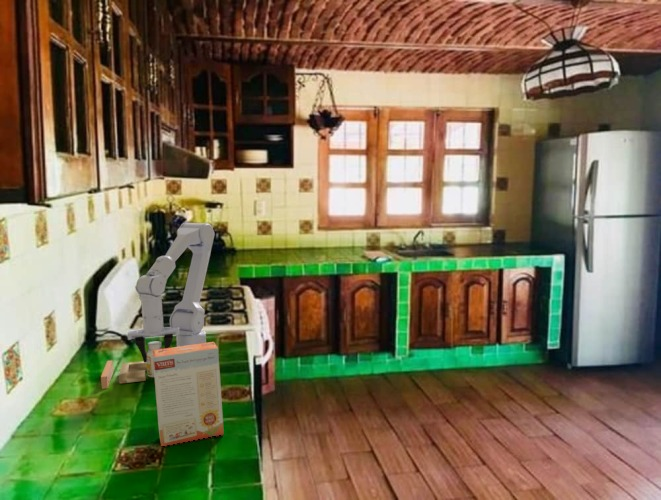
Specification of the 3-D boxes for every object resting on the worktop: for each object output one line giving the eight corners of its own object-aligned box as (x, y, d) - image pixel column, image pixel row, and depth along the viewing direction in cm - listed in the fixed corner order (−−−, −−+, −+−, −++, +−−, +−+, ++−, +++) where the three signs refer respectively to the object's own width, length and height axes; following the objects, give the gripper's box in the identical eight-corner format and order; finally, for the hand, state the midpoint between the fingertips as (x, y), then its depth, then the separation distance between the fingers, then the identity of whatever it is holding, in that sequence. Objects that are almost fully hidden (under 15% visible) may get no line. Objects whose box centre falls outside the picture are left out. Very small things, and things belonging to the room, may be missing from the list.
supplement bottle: (169, 371, 173) (166, 340, 172) (162, 377, 168) (159, 345, 166) (151, 371, 173) (149, 340, 172) (144, 377, 168) (142, 345, 167)
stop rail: (113, 371, 174) (112, 360, 174) (107, 388, 161) (106, 376, 160) (108, 371, 174) (107, 360, 173) (101, 388, 160) (100, 377, 160)
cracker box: (219, 425, 136) (214, 340, 133) (224, 436, 130) (219, 347, 127) (158, 436, 131) (151, 348, 128) (160, 448, 125) (153, 356, 122)
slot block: (147, 369, 175) (146, 360, 174) (145, 380, 165) (144, 372, 165) (123, 371, 173) (122, 363, 173) (119, 383, 163) (118, 374, 163)
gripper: (125, 321, 162) (128, 367, 164) (177, 316, 166) (180, 361, 168) (127, 315, 169) (131, 359, 171) (178, 311, 173) (181, 354, 175)
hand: (155, 360), depth 170 cm, fingers closed on supplement bottle, 5 cm apart
